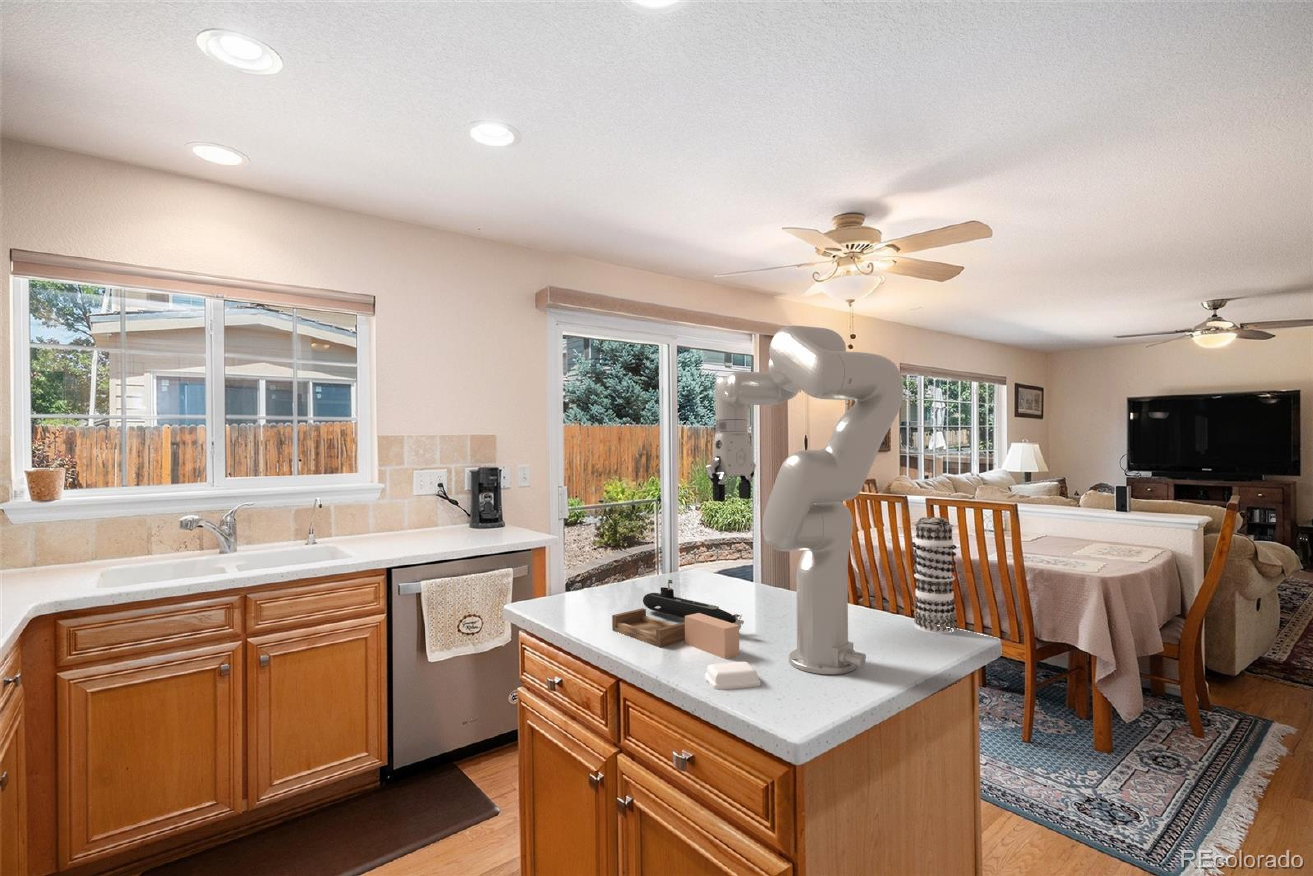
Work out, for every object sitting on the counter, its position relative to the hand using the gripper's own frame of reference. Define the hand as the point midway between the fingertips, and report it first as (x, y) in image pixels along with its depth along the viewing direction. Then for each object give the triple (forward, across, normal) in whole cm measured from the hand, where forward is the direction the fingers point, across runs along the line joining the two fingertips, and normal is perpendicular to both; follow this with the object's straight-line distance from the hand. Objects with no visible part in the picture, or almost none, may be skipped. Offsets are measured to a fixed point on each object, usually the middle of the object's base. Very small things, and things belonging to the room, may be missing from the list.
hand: (732, 500), depth 151 cm
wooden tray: (+29, -21, +6) cm, 36 cm away
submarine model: (+29, -9, +5) cm, 31 cm away
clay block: (+29, -19, -10) cm, 36 cm away
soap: (+30, -30, -24) cm, 48 cm away
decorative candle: (+29, +26, -36) cm, 54 cm away
